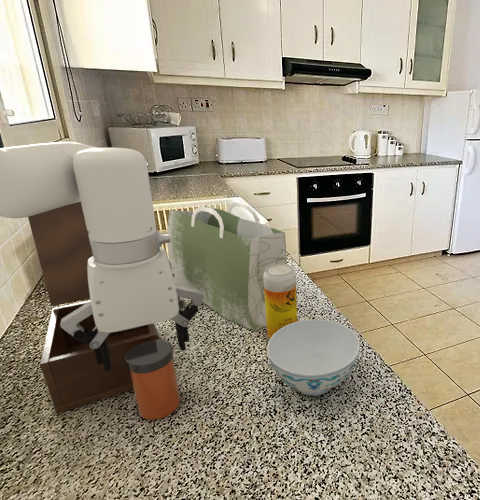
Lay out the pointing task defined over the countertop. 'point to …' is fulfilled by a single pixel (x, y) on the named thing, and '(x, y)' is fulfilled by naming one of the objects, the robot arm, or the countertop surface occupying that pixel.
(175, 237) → the grocery bag
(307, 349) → the chinaware
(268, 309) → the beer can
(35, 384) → the countertop surface
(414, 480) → the countertop surface
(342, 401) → the countertop surface
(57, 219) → the chest lid
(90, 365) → the chest
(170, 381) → the jar
